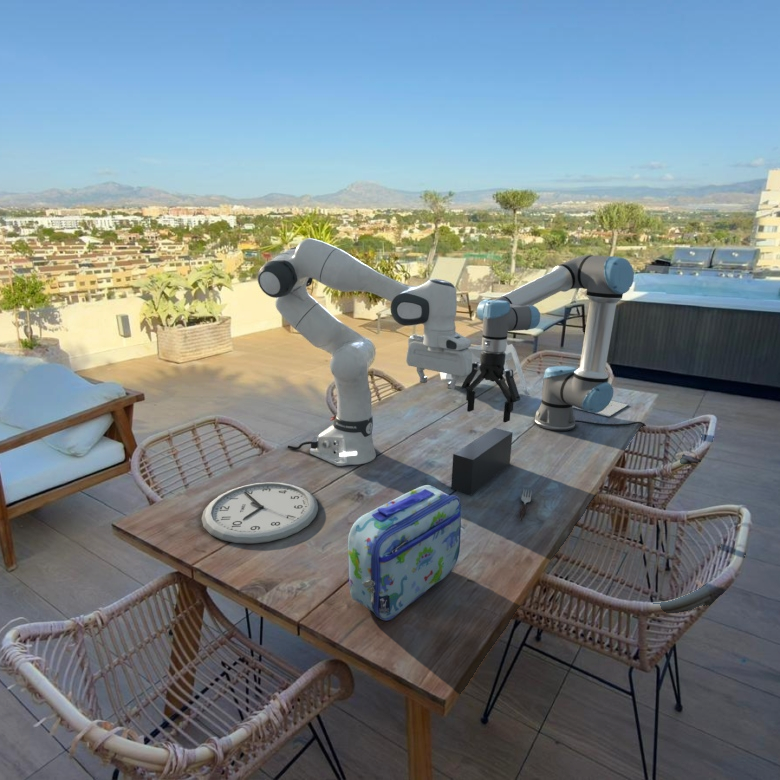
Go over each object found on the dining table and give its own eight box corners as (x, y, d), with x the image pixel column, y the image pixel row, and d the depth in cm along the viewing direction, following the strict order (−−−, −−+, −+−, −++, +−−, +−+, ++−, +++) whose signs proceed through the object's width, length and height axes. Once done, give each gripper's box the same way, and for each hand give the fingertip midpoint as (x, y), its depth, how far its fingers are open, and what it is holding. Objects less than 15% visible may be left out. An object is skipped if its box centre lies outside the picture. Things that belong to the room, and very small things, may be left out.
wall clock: (315, 535, 126) (186, 539, 123) (315, 541, 126) (187, 545, 123) (320, 478, 154) (216, 480, 152) (320, 483, 155) (216, 485, 152)
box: (491, 458, 173) (494, 427, 170) (509, 464, 170) (512, 432, 166) (451, 488, 153) (453, 454, 150) (470, 495, 149) (472, 459, 146)
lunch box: (378, 635, 98) (379, 537, 91) (341, 606, 105) (340, 513, 99) (464, 574, 115) (470, 488, 109) (427, 553, 122) (431, 471, 116)
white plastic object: (461, 429, 252) (437, 405, 227) (444, 352, 274) (420, 323, 250) (535, 404, 240) (518, 377, 215) (510, 326, 262) (492, 293, 237)
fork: (515, 521, 136) (516, 514, 135) (522, 493, 150) (523, 487, 150) (525, 523, 135) (526, 516, 135) (531, 495, 150) (532, 489, 149)
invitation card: (608, 416, 214) (573, 407, 224) (608, 416, 214) (573, 408, 224) (628, 404, 229) (594, 396, 238) (628, 405, 229) (594, 397, 238)
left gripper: (402, 335, 150) (401, 381, 154) (465, 345, 139) (462, 395, 143) (414, 332, 155) (413, 376, 159) (476, 341, 143) (473, 389, 148)
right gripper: (453, 346, 167) (449, 408, 173) (523, 360, 151) (516, 429, 157) (467, 343, 172) (463, 404, 179) (536, 356, 156) (528, 423, 162)
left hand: (437, 385), depth 151 cm, fingers open, 8 cm apart
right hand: (487, 415), depth 168 cm, fingers open, 13 cm apart
